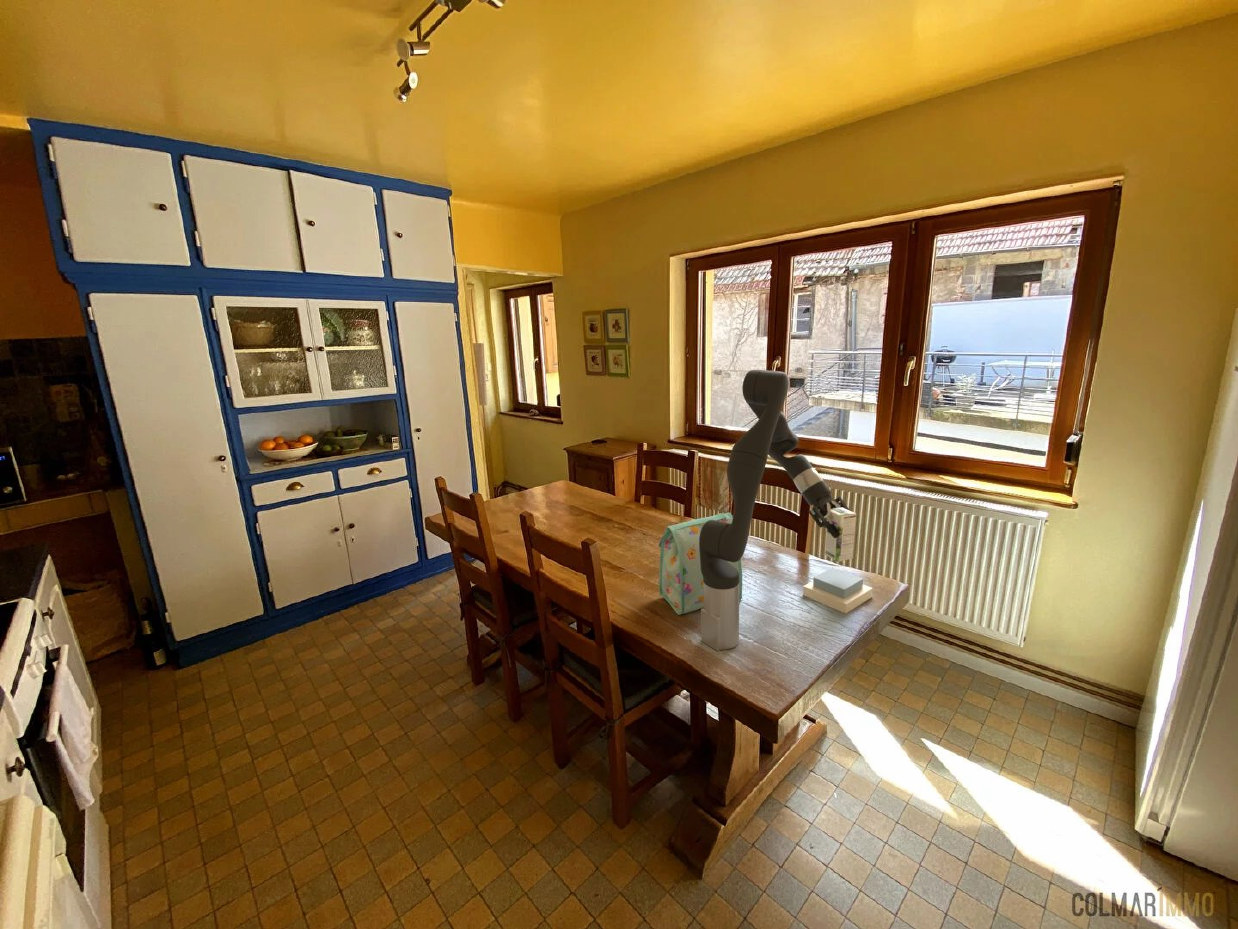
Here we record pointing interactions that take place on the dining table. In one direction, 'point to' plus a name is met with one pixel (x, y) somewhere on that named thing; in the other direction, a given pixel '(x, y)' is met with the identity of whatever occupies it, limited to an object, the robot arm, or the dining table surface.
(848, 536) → the syrup box
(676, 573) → the lunch bag
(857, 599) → the tower base
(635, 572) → the dining table surface
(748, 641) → the dining table surface
